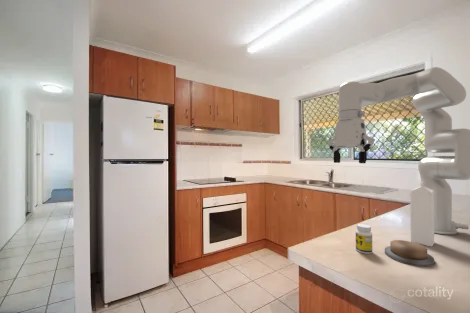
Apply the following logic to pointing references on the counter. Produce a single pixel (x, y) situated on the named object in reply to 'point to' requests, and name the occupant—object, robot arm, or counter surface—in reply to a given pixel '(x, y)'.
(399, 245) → the round stand
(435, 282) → the counter surface
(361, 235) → the supplement bottle
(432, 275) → the counter surface
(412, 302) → the counter surface
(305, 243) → the counter surface
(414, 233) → the milk
